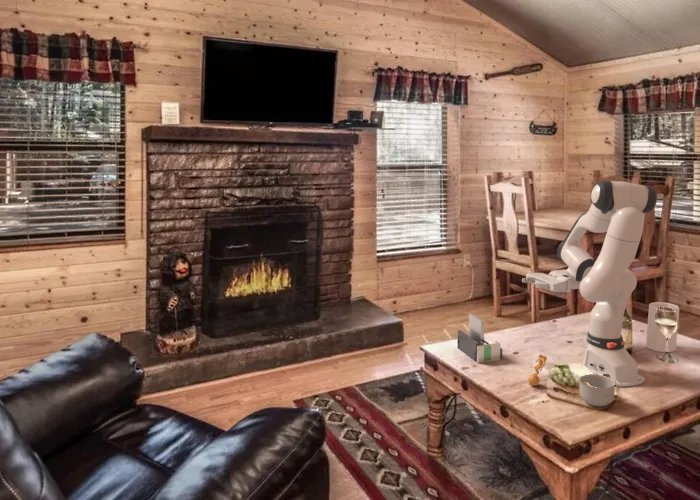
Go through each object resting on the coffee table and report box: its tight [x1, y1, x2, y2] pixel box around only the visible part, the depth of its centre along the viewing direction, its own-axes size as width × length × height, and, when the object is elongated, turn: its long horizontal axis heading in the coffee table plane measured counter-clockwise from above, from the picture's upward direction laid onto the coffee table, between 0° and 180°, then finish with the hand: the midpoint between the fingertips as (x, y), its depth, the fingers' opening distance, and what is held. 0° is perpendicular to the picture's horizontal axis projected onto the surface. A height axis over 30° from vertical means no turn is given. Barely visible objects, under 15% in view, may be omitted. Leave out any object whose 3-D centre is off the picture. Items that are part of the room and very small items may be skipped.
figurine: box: [527, 353, 547, 387], centre depth 187 cm, size 8×6×12 cm
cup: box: [645, 301, 680, 353], centre depth 218 cm, size 11×11×18 cm
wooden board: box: [468, 313, 490, 346], centre depth 215 cm, size 14×2×14 cm, turn 16°
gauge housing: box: [457, 329, 503, 364], centre depth 218 cm, size 18×12×8 cm
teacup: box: [578, 373, 616, 408], centre depth 175 cm, size 14×11×8 cm
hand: (529, 283), depth 220 cm, fingers open, 8 cm apart
